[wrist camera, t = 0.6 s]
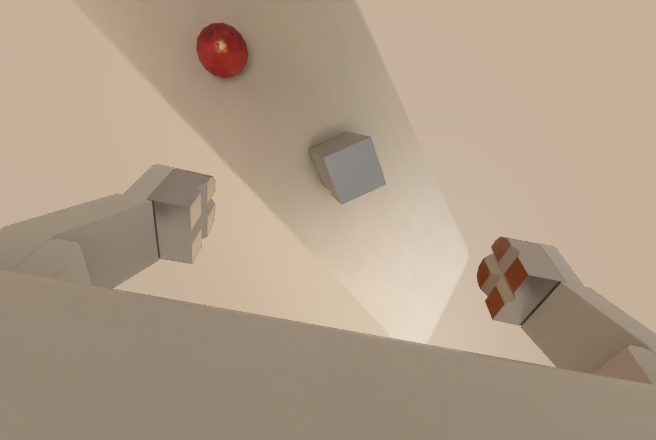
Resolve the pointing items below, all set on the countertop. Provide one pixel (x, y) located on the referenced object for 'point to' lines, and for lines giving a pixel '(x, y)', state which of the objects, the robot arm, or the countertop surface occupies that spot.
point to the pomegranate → (222, 50)
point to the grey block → (348, 166)
